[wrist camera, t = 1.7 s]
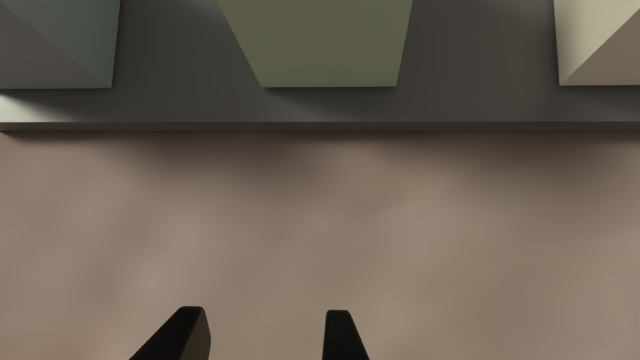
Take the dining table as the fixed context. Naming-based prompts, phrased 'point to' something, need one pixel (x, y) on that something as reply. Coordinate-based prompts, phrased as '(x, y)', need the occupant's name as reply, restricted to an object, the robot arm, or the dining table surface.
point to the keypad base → (333, 102)
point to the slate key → (57, 43)
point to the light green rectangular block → (321, 40)
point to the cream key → (598, 42)
